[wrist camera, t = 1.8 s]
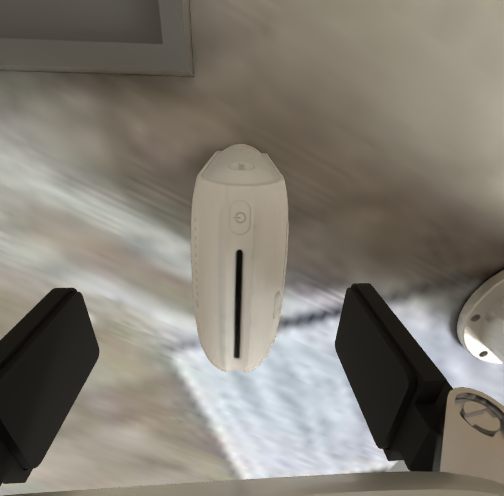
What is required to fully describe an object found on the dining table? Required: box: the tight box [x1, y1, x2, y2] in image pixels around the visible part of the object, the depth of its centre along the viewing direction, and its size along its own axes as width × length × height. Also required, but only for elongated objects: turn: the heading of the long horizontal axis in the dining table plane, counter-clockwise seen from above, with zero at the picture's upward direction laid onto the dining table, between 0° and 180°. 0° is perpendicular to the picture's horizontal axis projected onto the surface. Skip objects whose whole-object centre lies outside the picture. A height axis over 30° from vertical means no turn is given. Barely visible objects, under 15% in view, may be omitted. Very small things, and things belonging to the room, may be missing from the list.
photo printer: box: [191, 144, 289, 372], centre depth 16 cm, size 10×4×12 cm, turn 177°
